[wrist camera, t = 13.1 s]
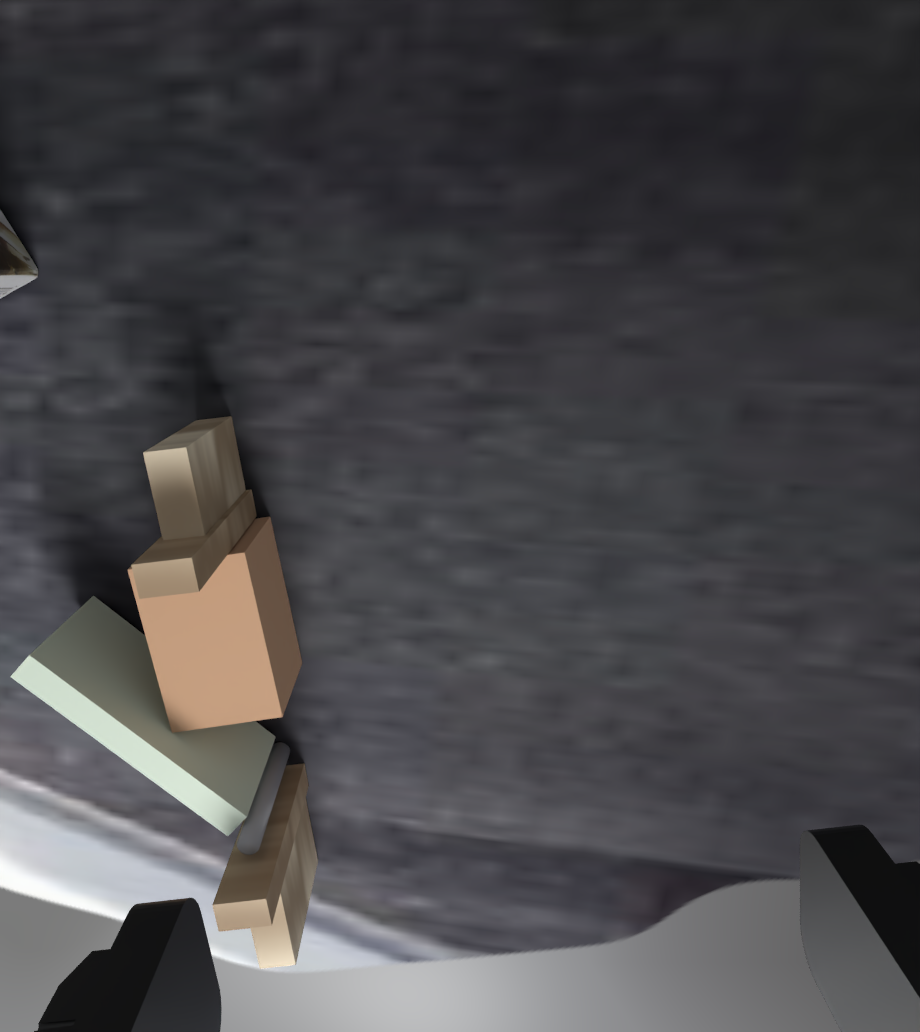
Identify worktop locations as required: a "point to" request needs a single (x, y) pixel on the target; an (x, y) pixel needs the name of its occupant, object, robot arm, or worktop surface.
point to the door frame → (185, 569)
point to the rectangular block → (226, 640)
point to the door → (155, 723)
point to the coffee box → (13, 260)
